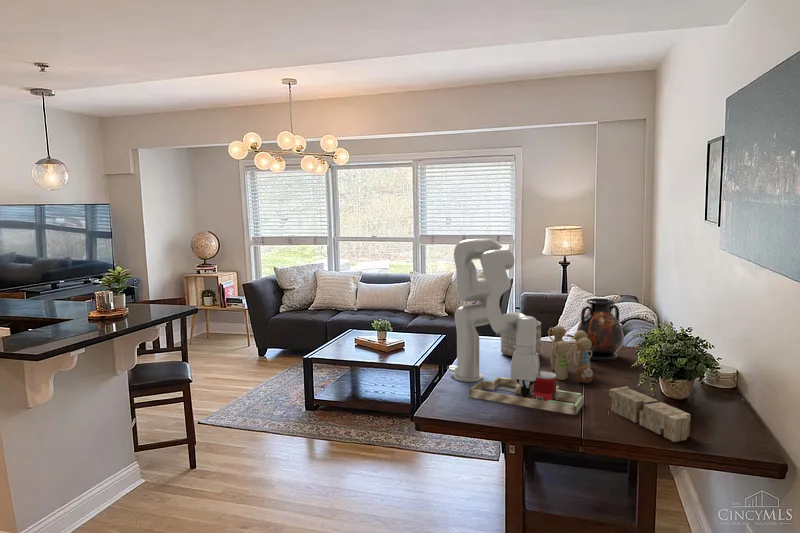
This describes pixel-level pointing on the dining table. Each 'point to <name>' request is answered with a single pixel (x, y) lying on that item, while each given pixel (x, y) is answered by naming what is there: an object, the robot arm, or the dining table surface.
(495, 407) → the dining table surface
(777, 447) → the dining table surface
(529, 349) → the robot arm
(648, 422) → the block tower
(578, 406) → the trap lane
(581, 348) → the bowling set
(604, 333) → the amphora vase
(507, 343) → the planter
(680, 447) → the dining table surface
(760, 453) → the dining table surface
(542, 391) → the canned food
